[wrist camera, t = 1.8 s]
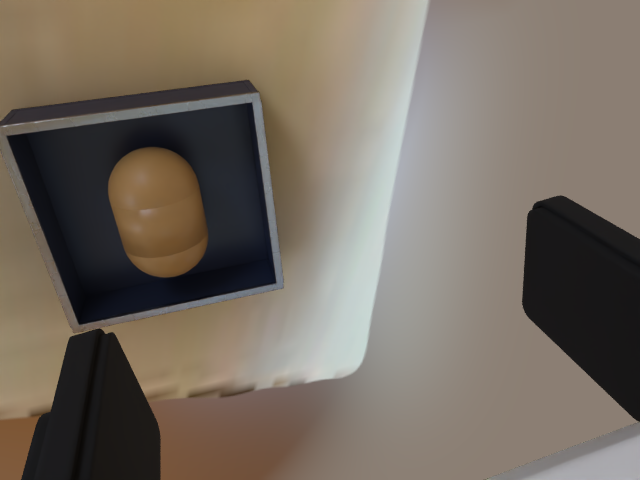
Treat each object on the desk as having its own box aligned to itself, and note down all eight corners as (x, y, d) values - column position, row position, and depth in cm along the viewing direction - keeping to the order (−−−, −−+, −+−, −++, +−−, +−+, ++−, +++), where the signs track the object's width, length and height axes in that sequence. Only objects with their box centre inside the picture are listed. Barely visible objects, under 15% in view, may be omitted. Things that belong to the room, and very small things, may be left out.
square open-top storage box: (80, 299, 34) (72, 333, 31) (10, 109, 28) (-9, 127, 25) (273, 260, 37) (284, 288, 34) (249, 78, 30) (260, 92, 27)
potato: (135, 259, 33) (131, 301, 29) (101, 142, 30) (91, 172, 25) (211, 244, 34) (218, 283, 30) (188, 130, 31) (192, 156, 26)
